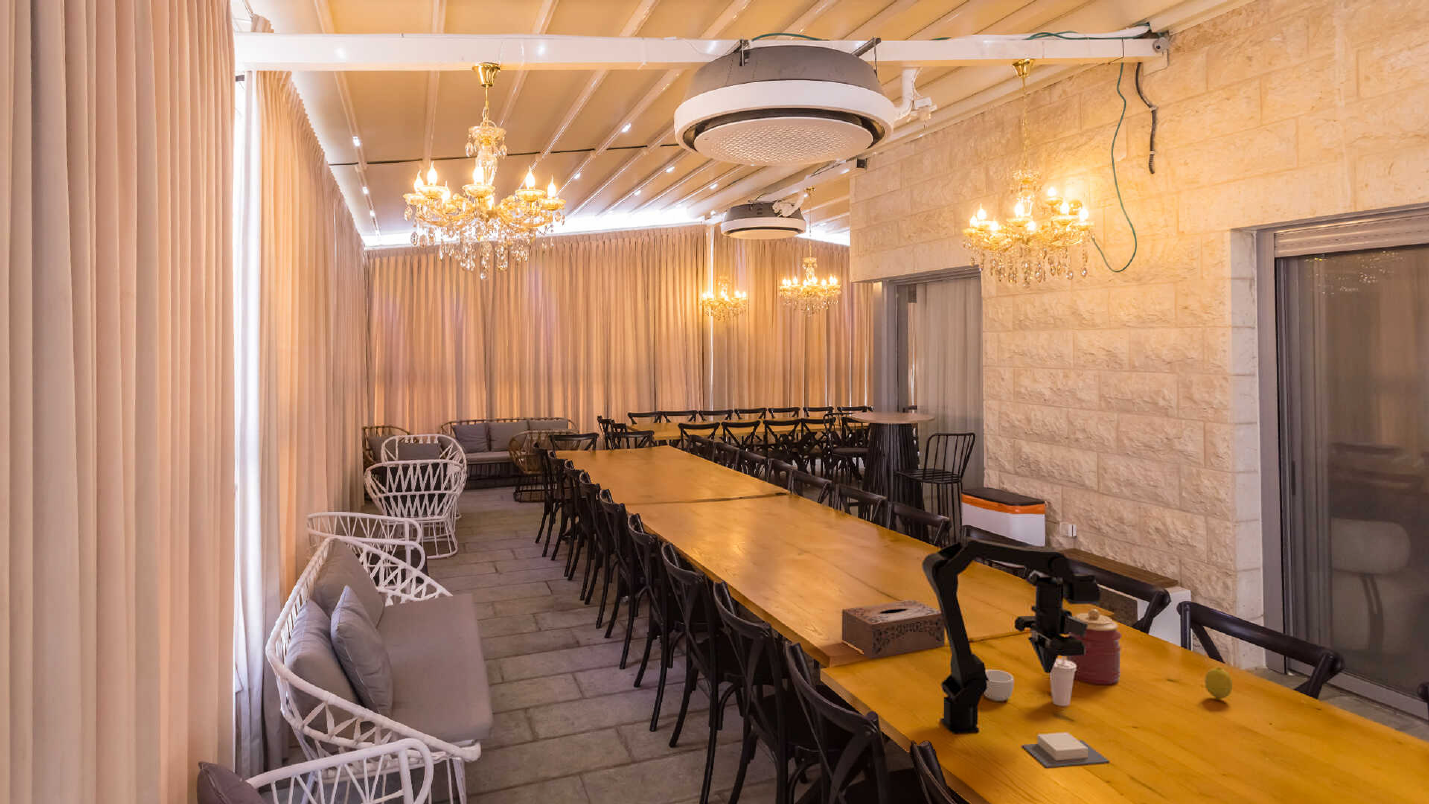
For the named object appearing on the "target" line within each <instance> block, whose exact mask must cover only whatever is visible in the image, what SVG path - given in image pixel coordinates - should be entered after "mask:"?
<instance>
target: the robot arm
mask: <svg viewBox="0 0 1429 804" xmlns="http://www.w3.org/2000/svg"><path fill="white" fill-rule="evenodd" d="M977 558H978V559H984V560H989V561H995V562H1000V563H1005V564H1011V565H1015V566H1021V567H1025V568H1027V569H1031V570H1032V571H1035V572H1034V573H1033V572H1032V575H1029V577H1028V578H1026V579H1025V581H1026V583H1028V584H1029V585H1031V586H1032V587H1035V603H1034V604H1035V605H1030V606H1031V608H1030V609H1031V612H1034V615H1023V616H1017V618H1015V620H1014V630H1015V629H1016V630H1017V631H1019V632H1021V633H1022V632H1024V631H1025V630H1026V629H1029V631H1030V632H1031V635H1030V636H1029V637H1028V638H1027V639H1028V641H1029V642H1030V644H1031V645H1032V648H1033V649H1034V651H1035V654H1036V656H1037V659H1038V660H1039V662H1040V665H1041V666H1042V670H1043V671H1044V673H1046V674H1050V673H1051V671H1052V668H1053V666H1054V664H1055V661H1056V659H1058V657H1059V656H1061V657H1062V656H1065V657H1066V656H1075V655H1085V645H1084V643H1083V642H1082V641H1080V640H1078V639H1076V638H1074V637H1073V636H1067V635H1069V632H1071V633H1074V634H1077V635H1079V636H1080V637H1084V635H1085V632H1086V629H1087V626H1088V624H1087V623H1085V622H1083V621H1081V620H1079V619H1077V618H1075V617H1074V616H1073V614H1072V613H1073V612H1072V611H1070V610H1068V609H1066V608H1064V600H1065V601H1066V602H1067V603H1068V604H1069V605H1096V604H1098V603H1099V602H1100V600H1101V591H1100V589H1099V584H1098V583H1097V581H1096V575H1095V574H1093V573H1091V572H1083V573H1074V572H1073V570H1072V569H1071V568H1070V567H1069V561H1068V558H1067V557H1066V555H1065V554H1064V553H1062V552H1061V551H1058V550H1056V549H1054V548H1052V547H1050V546H1045V545H1030V546H1015V545H1011V544H1006V543H999V542H993V541H989V540H984V539H977V538H974V537H971V536H964V537H962V538H961V539H959V540H958V541H956V542H954V543H953V544H950V545H947V546H945V547H943V548H941V549H940V550H938V551H936V552H932V553H929V554H928V555H926V556H925V558H924V559H923V561H922V565H921V566H922V571H923V573H924V576H925V577H926V580H927V582H928V583H929V585H930V587H931V588H932V590H933V592H934V594H935V596H936V599H937V603H938V607H939V610H940V611H941V615H942V618H943V622H944V626H945V633H946V634H945V635H946V637H947V640H948V644H949V649H950V651H951V652H950V653H951V656H950V674H949V675H948V676H947V677H946V678H945V679H944V680H943V681H942V682H941V683H940V686H941V689H942V691H943V693H945V695H946V696H944V697H943V717H942V718H939V720H940V723H942V725H943V726H944V727H946V729H947V730H948V731H949V732H950V733H951V734H962V733H963V734H964V733H966V734H967V733H976V732H977V733H978V732H980V728H979V727H978V722H979V719H978V718H979V716H978V715H979V708H978V706H979V703H980V701H981V698H982V696H984V692H985V690H987V682H986V681H989V679H988V678H987V676H986V672H985V670H986V665H985V662H984V661H983V660H982V659H980V658H979V656H977V655H976V654H975V653H972V648H971V645H970V641H969V637H968V633H967V629H966V625H965V622H964V617H963V615H962V614H963V613H962V611H961V610H962V609H961V606H960V603H959V599H958V598H959V597H958V589H959V587H958V586H959V575H960V574H961V573H963V572H964V571H965V570H966V569H968V567H969V566H970V564H971V563H972V562H974V560H976V559H977ZM1036 572H1037V573H1036ZM1038 573H1040V574H1043V575H1045V576H1041V575H1039V574H1038ZM1055 578H1059V579H1055Z"/></svg>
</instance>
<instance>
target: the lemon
mask: <svg viewBox="0 0 1429 804" xmlns="http://www.w3.org/2000/svg"><path fill="white" fill-rule="evenodd" d="M1204 684H1205V688H1206V690H1207V692H1208V693H1209V694H1210V695H1211V696H1212V697H1214V698H1215V699H1216V700H1221V699H1225V698H1226V697H1227V698H1228V697H1229V696H1230V695H1231V693H1232V690H1233V681H1232V678H1231V675H1230V674H1229V673H1228V671H1226V670H1225V669H1223V668H1222V667H1220V666H1217V667H1214V668H1211V669H1209V670H1208V671H1207V673H1206V675H1205V680H1204Z"/></svg>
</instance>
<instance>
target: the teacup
mask: <svg viewBox="0 0 1429 804" xmlns="http://www.w3.org/2000/svg"><path fill="white" fill-rule="evenodd" d="M985 672H986V676H987V678H988V679H989V681H986V682H987V690H985V692H984V694H983V696H985V697H986V698H988V699H989V700H991V701H995V702H1005V701H1006V700H1009V698H1011V696H1012V694H1013V691H1014V683H1015V678H1014V676H1013V675H1012V674H1010V673H1009V672H1006V671H1004V670H998V669H985Z"/></svg>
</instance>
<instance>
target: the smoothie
mask: <svg viewBox="0 0 1429 804" xmlns="http://www.w3.org/2000/svg"><path fill="white" fill-rule="evenodd" d="M1075 671H1076V664H1075V663H1073V662H1071V661H1068V660H1066V656H1061V658H1057V659H1056V661H1055V664H1054V666H1053V668H1052V671H1051V673H1049V678H1050V680H1049V681H1050V689H1051V697H1052V698H1051V699H1052V703H1053V705H1056V706H1060V707H1068V706H1070V704H1071V697H1072V691H1073V683H1074V679H1075V678H1074V673H1075Z"/></svg>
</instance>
